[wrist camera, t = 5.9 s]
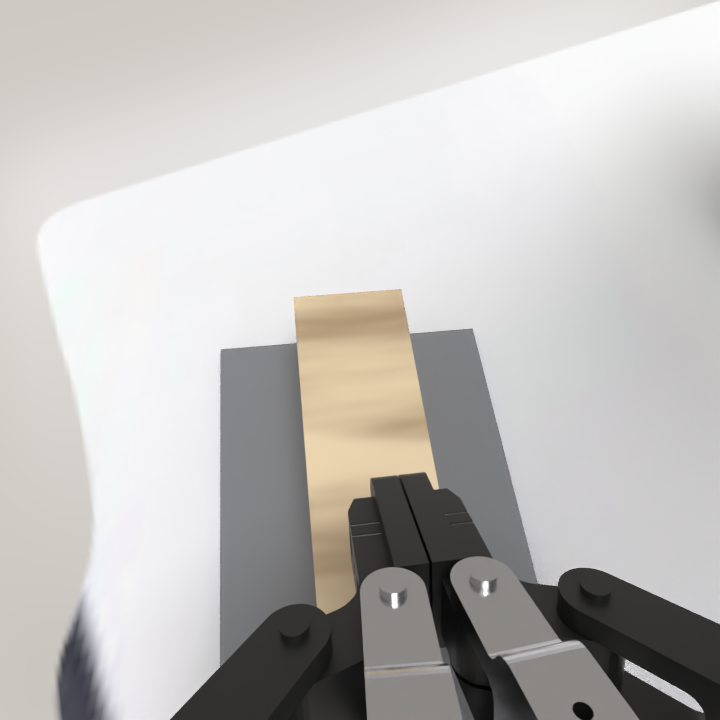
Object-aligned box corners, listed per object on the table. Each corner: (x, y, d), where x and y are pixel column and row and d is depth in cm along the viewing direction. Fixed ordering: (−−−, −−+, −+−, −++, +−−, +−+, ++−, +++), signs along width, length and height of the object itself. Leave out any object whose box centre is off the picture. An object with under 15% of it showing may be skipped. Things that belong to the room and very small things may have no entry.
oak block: (322, 640, 22) (299, 349, 28) (438, 623, 22) (390, 341, 28) (319, 644, 17) (293, 297, 23) (464, 623, 18) (400, 289, 24)
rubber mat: (222, 354, 28) (220, 349, 28) (470, 333, 30) (472, 328, 29) (223, 896, 18) (220, 905, 18) (594, 828, 20) (601, 834, 19)
